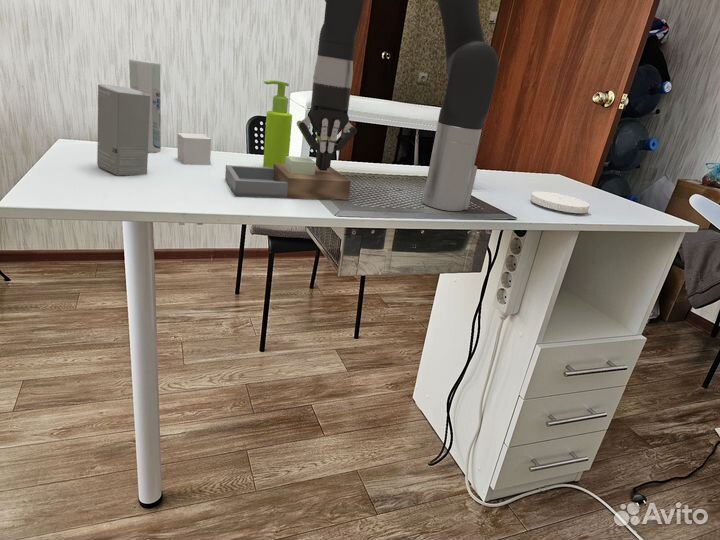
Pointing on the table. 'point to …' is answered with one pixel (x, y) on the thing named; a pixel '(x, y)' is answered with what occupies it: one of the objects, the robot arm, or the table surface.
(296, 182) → the brown flat square block
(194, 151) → the white cube
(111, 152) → the skincare box
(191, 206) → the table surface
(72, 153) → the table surface
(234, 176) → the box
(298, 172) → the tile
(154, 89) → the spray can
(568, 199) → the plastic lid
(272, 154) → the soap dispenser
